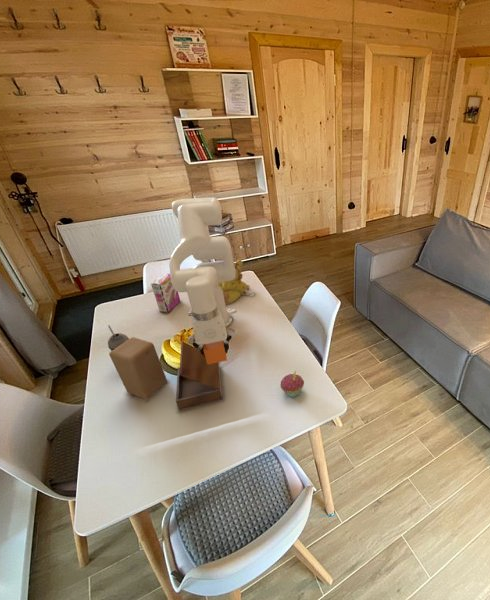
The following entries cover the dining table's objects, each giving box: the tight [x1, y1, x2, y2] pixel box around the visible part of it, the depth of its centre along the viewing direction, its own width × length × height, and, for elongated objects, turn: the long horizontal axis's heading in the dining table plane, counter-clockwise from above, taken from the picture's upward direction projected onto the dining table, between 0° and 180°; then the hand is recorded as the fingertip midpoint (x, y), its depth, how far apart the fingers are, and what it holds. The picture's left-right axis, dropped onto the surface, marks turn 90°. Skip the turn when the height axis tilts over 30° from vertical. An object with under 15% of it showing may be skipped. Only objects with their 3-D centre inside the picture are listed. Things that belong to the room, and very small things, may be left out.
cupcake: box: [279, 370, 305, 397], centre depth 123 cm, size 9×8×12 cm
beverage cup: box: [107, 324, 130, 352], centre depth 130 cm, size 7×7×20 cm
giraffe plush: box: [217, 259, 255, 305], centre depth 178 cm, size 20×24×19 cm
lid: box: [179, 341, 222, 390], centre depth 121 cm, size 15×17×1 cm
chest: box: [175, 362, 223, 411], centre depth 125 cm, size 14×17×5 cm
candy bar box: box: [150, 273, 181, 314], centre depth 168 cm, size 11×5×16 cm, turn 172°
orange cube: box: [203, 341, 228, 365], centre depth 120 cm, size 7×7×7 cm
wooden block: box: [108, 336, 168, 400], centre depth 121 cm, size 10×10×20 cm
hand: (215, 352), depth 121 cm, fingers closed on orange cube, 6 cm apart
